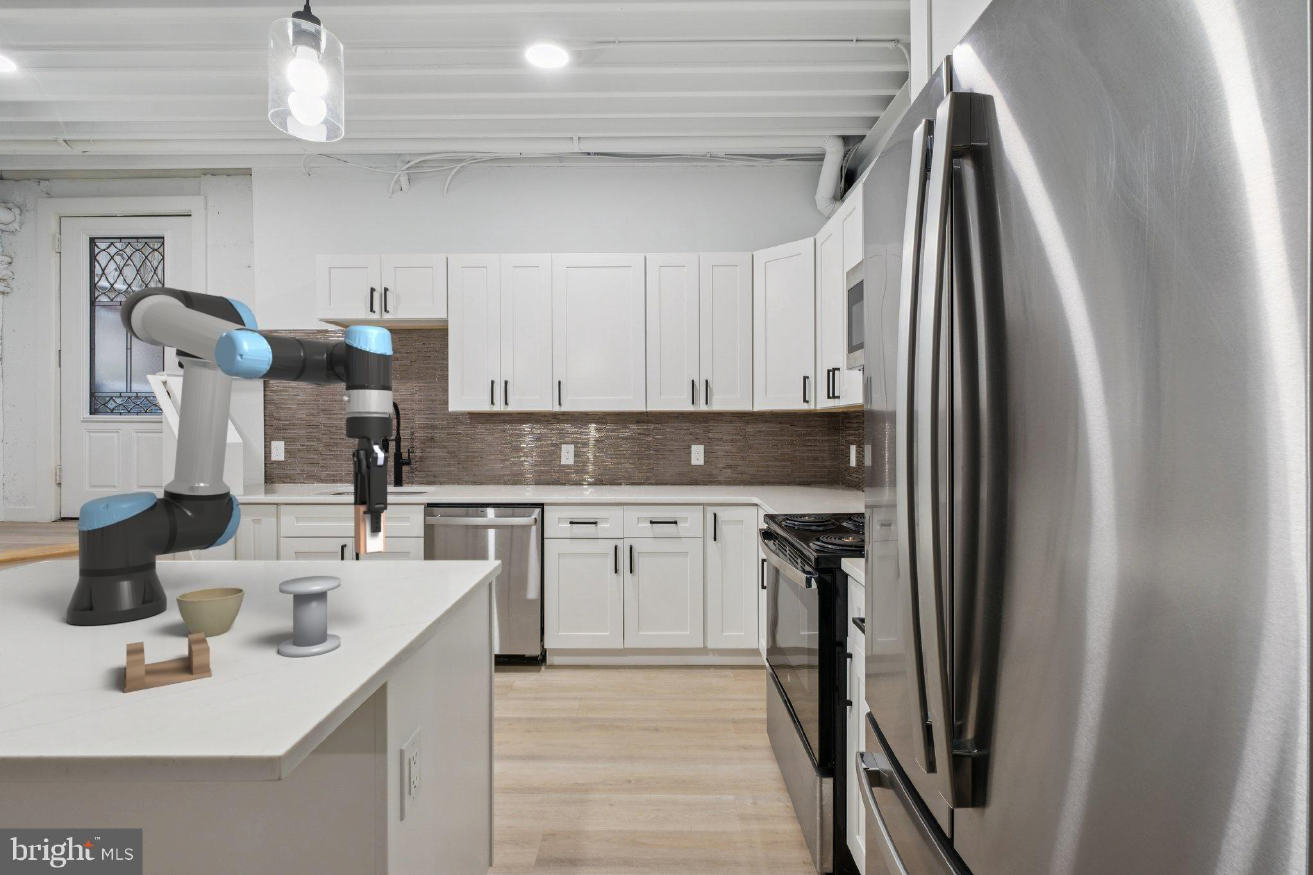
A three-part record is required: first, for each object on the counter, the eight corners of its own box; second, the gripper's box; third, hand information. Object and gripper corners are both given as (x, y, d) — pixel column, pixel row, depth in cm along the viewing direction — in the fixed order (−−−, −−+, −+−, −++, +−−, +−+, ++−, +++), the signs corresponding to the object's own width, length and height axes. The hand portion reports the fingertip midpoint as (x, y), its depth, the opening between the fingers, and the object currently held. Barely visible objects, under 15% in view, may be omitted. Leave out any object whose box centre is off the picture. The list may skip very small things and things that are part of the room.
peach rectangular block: (378, 548, 118) (378, 504, 118) (384, 551, 115) (384, 505, 115) (354, 551, 115) (354, 505, 115) (360, 554, 112) (360, 507, 112)
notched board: (124, 672, 98) (124, 644, 98) (205, 657, 104) (205, 631, 104) (124, 692, 90) (123, 662, 90) (211, 676, 96) (211, 648, 96)
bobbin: (274, 646, 110) (274, 580, 110) (333, 636, 115) (333, 573, 115) (284, 661, 103) (284, 590, 103) (346, 649, 108) (346, 582, 108)
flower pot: (210, 643, 111) (210, 601, 111) (161, 639, 113) (161, 598, 113) (257, 626, 121) (257, 587, 121) (211, 623, 123) (211, 585, 123)
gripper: (334, 416, 119) (335, 545, 119) (359, 413, 106) (361, 559, 106) (377, 417, 124) (378, 541, 124) (407, 414, 111) (408, 553, 111)
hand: (370, 549), depth 115 cm, fingers closed on peach rectangular block, 4 cm apart
